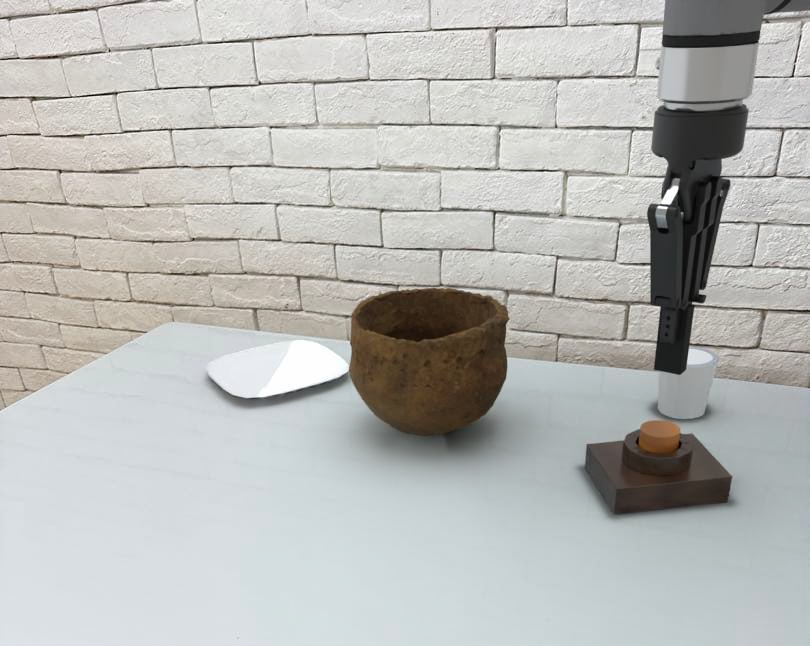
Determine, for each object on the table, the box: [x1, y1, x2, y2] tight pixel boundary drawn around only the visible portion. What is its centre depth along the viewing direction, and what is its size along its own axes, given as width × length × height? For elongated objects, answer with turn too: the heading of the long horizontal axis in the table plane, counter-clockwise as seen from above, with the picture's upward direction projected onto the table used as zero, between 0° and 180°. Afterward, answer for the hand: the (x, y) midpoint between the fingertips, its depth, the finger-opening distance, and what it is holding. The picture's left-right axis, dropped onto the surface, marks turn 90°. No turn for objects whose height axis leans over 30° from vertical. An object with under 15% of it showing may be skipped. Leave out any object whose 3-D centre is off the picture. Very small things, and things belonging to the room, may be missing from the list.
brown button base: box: [584, 428, 733, 515], centre depth 90 cm, size 12×10×5 cm
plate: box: [205, 339, 350, 401], centre depth 121 cm, size 18×18×2 cm
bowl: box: [348, 287, 510, 437], centre depth 101 cm, size 19×19×15 cm
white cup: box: [657, 346, 719, 420], centre depth 104 cm, size 7×7×7 cm
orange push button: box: [638, 419, 682, 453], centre depth 88 cm, size 4×4×2 cm
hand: (669, 369), depth 84 cm, fingers closed
